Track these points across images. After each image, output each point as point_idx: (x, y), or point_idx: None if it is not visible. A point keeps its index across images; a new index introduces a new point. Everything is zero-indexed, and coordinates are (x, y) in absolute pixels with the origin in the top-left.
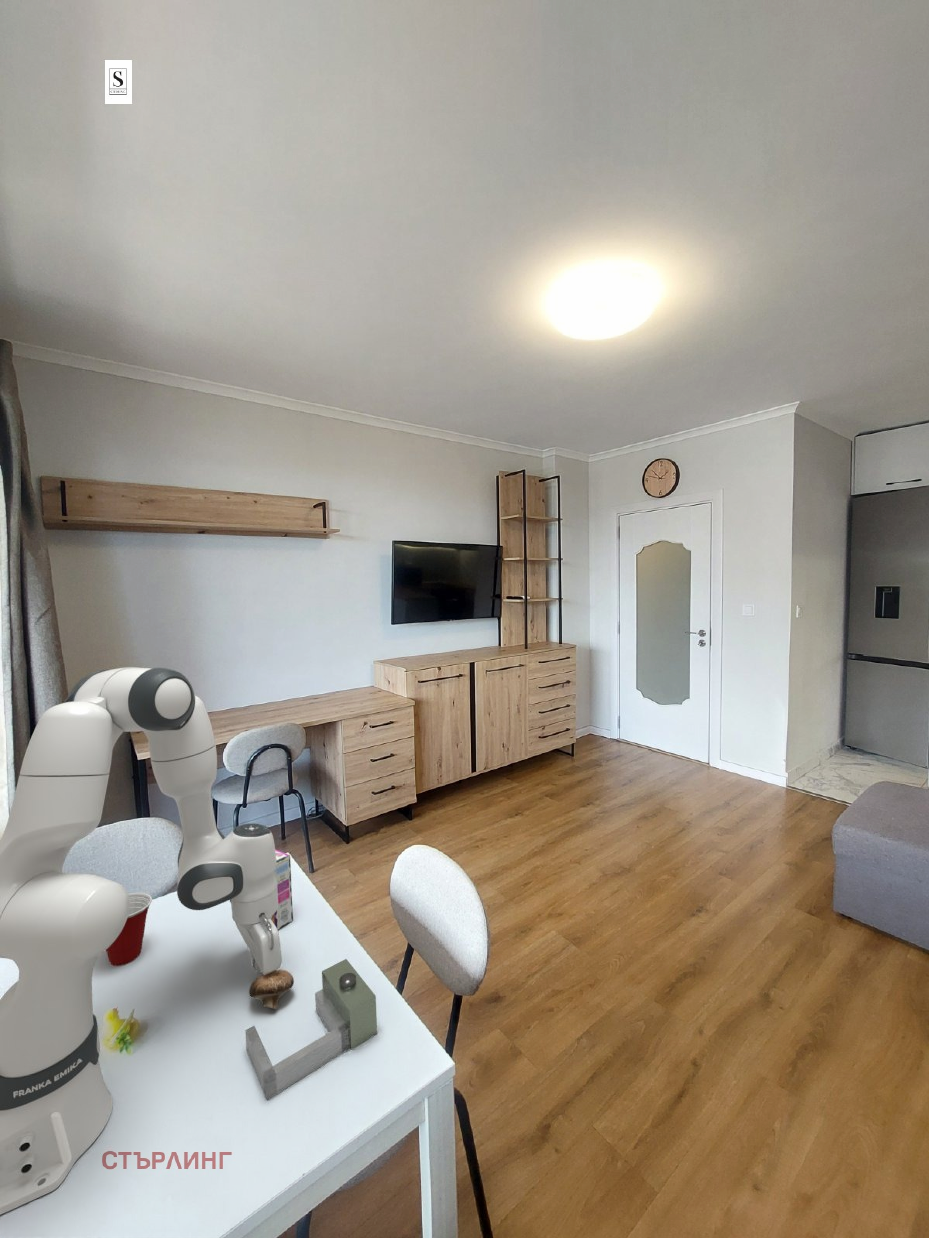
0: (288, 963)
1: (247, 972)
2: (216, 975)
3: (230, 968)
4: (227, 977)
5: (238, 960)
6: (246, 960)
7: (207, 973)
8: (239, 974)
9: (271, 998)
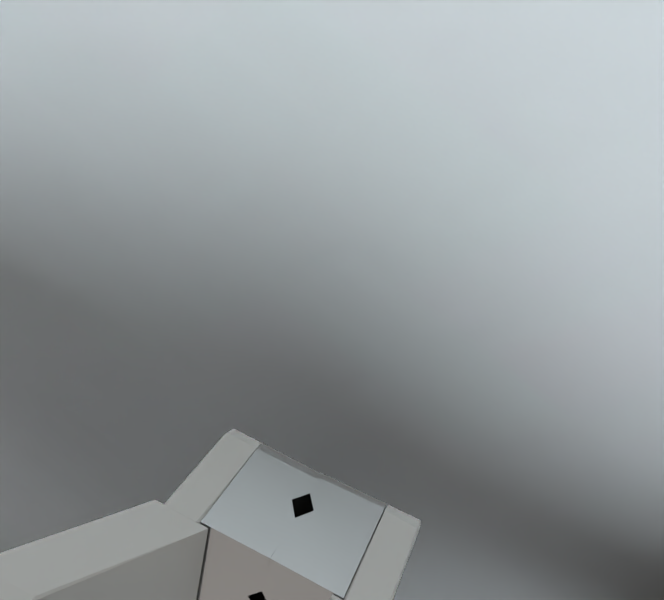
0: (527, 91)
1: (216, 437)
2: (72, 526)
3: (64, 444)
4: None
5: (9, 351)
6: (52, 322)
7: (15, 525)
8: (186, 476)
9: None
